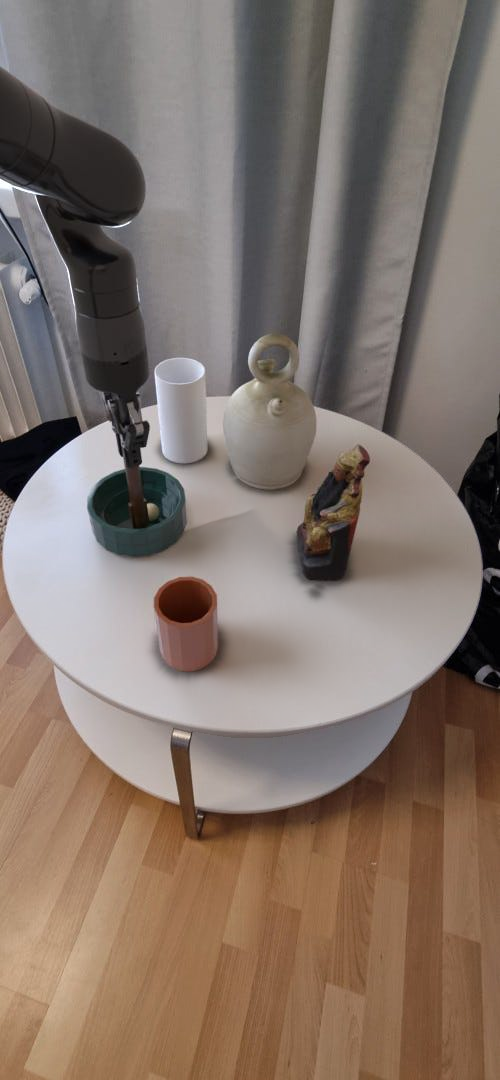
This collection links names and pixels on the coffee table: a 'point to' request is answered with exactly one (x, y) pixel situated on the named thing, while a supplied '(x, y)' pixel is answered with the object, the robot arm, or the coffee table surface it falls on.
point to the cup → (182, 409)
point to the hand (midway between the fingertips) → (130, 459)
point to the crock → (187, 623)
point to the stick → (136, 498)
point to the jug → (269, 421)
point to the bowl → (114, 516)
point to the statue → (332, 518)
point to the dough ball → (152, 511)
